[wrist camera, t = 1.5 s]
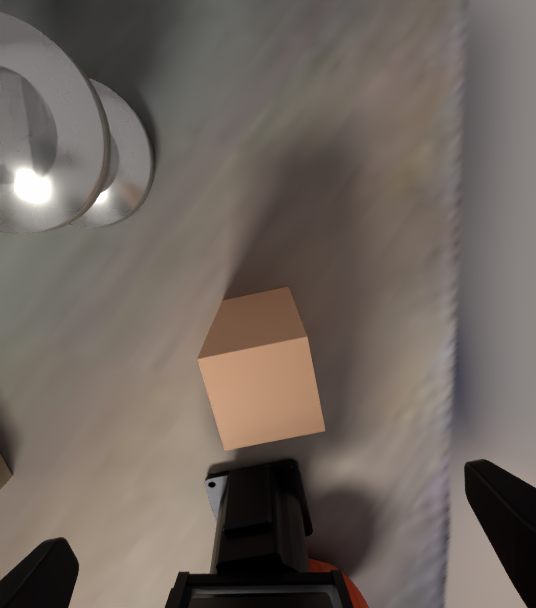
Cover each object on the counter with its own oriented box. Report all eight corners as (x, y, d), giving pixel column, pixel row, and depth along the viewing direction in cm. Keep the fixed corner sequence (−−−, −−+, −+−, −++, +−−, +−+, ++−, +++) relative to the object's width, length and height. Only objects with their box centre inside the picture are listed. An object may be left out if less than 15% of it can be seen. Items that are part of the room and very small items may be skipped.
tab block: (301, 347, 20) (325, 431, 13) (238, 360, 20) (224, 450, 13) (288, 286, 19) (307, 336, 12) (222, 300, 19) (197, 358, 12)
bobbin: (170, 211, 18) (128, 211, 12) (48, 238, 18) (-50, 251, 12) (129, 65, 16) (56, -16, 10) (-7, 98, 16) (-153, 36, 11)
